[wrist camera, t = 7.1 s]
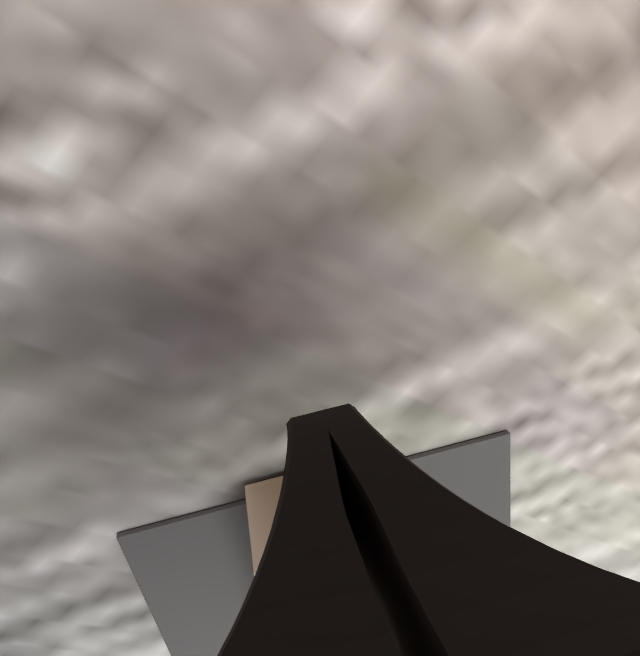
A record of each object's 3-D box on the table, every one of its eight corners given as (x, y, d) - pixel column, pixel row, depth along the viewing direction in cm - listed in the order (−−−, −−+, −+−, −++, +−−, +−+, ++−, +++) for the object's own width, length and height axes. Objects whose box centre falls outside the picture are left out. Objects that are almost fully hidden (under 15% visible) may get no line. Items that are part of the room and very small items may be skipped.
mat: (201, 715, 24) (201, 720, 24) (117, 533, 19) (116, 537, 18) (508, 622, 25) (510, 626, 25) (507, 430, 20) (510, 433, 20)
